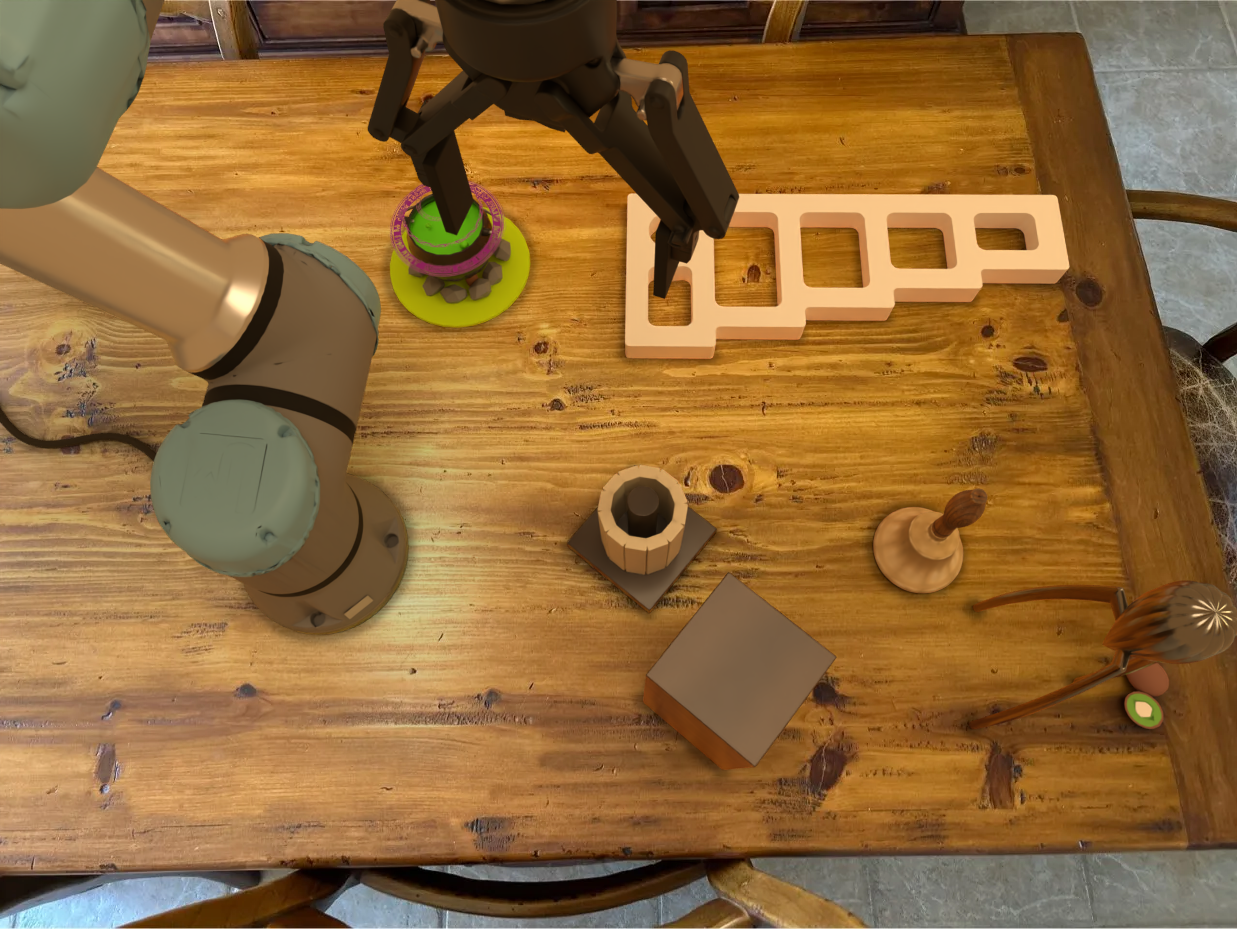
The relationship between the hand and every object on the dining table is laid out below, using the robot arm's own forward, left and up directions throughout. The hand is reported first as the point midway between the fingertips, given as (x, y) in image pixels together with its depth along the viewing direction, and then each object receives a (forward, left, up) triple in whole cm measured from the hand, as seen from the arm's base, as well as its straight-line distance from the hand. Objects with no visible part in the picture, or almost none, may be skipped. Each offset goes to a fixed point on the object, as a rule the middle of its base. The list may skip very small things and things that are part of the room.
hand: (561, 247), depth 54 cm
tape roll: (+10, -4, -33) cm, 35 cm away
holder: (+9, +31, -35) cm, 47 cm away
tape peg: (+10, -4, -35) cm, 36 cm away
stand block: (+24, -11, -35) cm, 44 cm away
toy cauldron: (-24, +7, -35) cm, 43 cm away
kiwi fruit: (+52, +13, -34) cm, 64 cm away
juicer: (+43, +6, -35) cm, 56 cm away
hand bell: (+31, +12, -34) cm, 48 cm away
